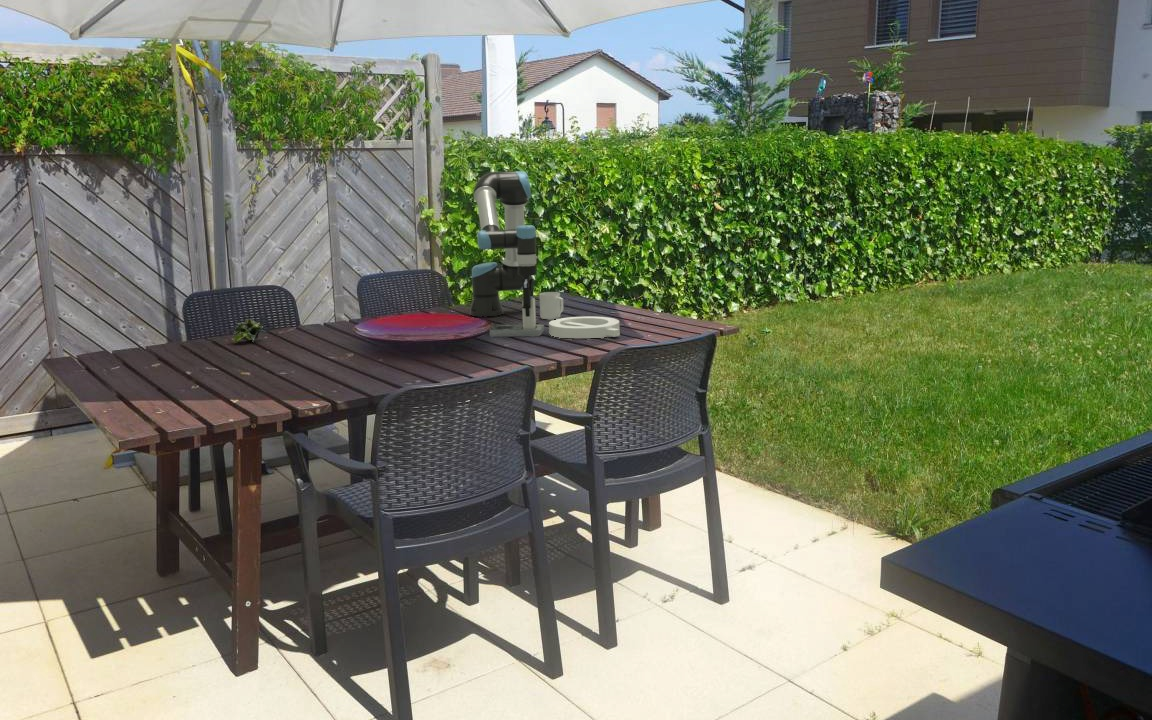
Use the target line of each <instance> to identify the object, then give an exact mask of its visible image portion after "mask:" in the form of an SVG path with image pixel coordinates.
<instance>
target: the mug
mask: <svg viewBox="0 0 1152 720" xmlns="http://www.w3.org/2000/svg"><path fill="white" fill-rule="evenodd" d="M538 295H539V316H540V318H541V319H542V320H543V319H548V320H547V321H553V320H554V319H560V318H561V313H563V312H564V298H563V297H561V294H560V292H557V291H547V292H540V293H539V294H538Z"/></svg>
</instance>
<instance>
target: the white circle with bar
mask: <svg viewBox="0 0 1152 720" xmlns="http://www.w3.org/2000/svg"><path fill="white" fill-rule="evenodd" d="M549 334H550V335H551V336H550V335H549ZM548 335H549V336H550V337H552V336H554V337H553V338H555V337H559V338H558V339H560V338H601V339H605V338H604V337H607V338H612V337H613V338H615V337H619V336H621V331H620V320H619V319H617V318H613V317H608V316H607V317H606V316H589V315H588V316H570V317H563V318H561V317H560V318H559V319H556V320H549V322H548Z"/></svg>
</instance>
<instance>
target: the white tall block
mask: <svg viewBox="0 0 1152 720" xmlns="http://www.w3.org/2000/svg"><path fill="white" fill-rule="evenodd" d="M521 303H522V304H521V306H522V307H523V298H522V300H521ZM521 310H522V325H523V329H536V324H537V323H536V322H537V320H536V319H537V317H536V316H537V315H536V298H535V297H534V298H533V296H531V313H532V325H525V314H524V308H521Z"/></svg>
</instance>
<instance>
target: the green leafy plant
mask: <svg viewBox="0 0 1152 720" xmlns="http://www.w3.org/2000/svg"><path fill="white" fill-rule="evenodd" d="M237 325H238V327H235V328H234V329H235V330H234V331H233V336H234V337H233V339H232V343H233V342H236V343H237V342H239V341H241V340H243V339H244V338H247V339H248V340H249V341H250V340H251V339H252V341H251V343H252V342H253V343H254V341H255V340H258V339H259V334H260V333H261V334H265V333H266V330H264V324H263V323H262V324H261V322H258V321H255V320H254V319H251V318H249V319H247V320H243V322H238V323H237ZM257 338H258V339H257Z"/></svg>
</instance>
